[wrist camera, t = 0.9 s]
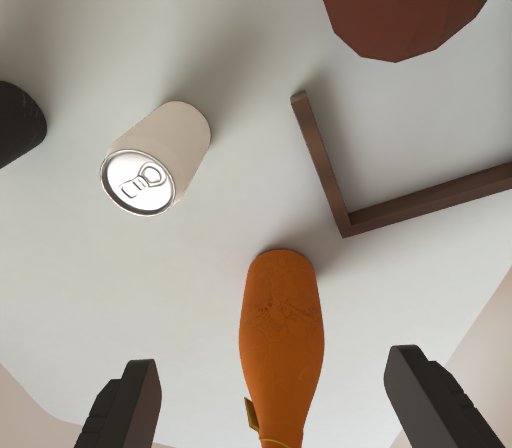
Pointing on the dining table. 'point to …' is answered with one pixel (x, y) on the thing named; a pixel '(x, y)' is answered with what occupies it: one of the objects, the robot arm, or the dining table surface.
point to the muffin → (399, 25)
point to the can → (156, 159)
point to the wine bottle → (280, 345)
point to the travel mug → (18, 123)
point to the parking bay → (400, 207)
